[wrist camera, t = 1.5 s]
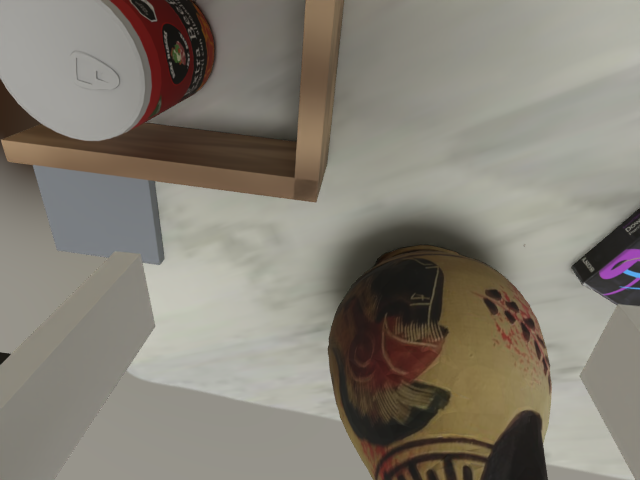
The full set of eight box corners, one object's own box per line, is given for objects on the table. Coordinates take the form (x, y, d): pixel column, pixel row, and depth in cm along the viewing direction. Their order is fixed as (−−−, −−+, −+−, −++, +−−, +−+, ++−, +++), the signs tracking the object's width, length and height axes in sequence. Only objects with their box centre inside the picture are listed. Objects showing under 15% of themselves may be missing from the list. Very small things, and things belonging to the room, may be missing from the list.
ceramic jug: (372, 365, 44) (366, 891, 18) (310, 247, 37) (165, 813, 12) (545, 326, 39) (877, 984, 13) (509, 182, 32) (1038, 940, 6)
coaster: (36, 144, 35) (27, 147, 34) (151, 159, 34) (145, 163, 34) (63, 244, 40) (57, 250, 39) (164, 259, 40) (159, 264, 39)
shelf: (20, -103, 26) (-85, -131, 20) (351, -71, 25) (343, -91, 19) (72, 131, 34) (7, 161, 28) (327, 164, 33) (316, 202, 27)
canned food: (225, 98, 31) (160, 144, 22) (124, 97, 32) (20, 141, 23) (210, -22, 27) (123, -29, 18) (96, -20, 28) (-44, -26, 19)
